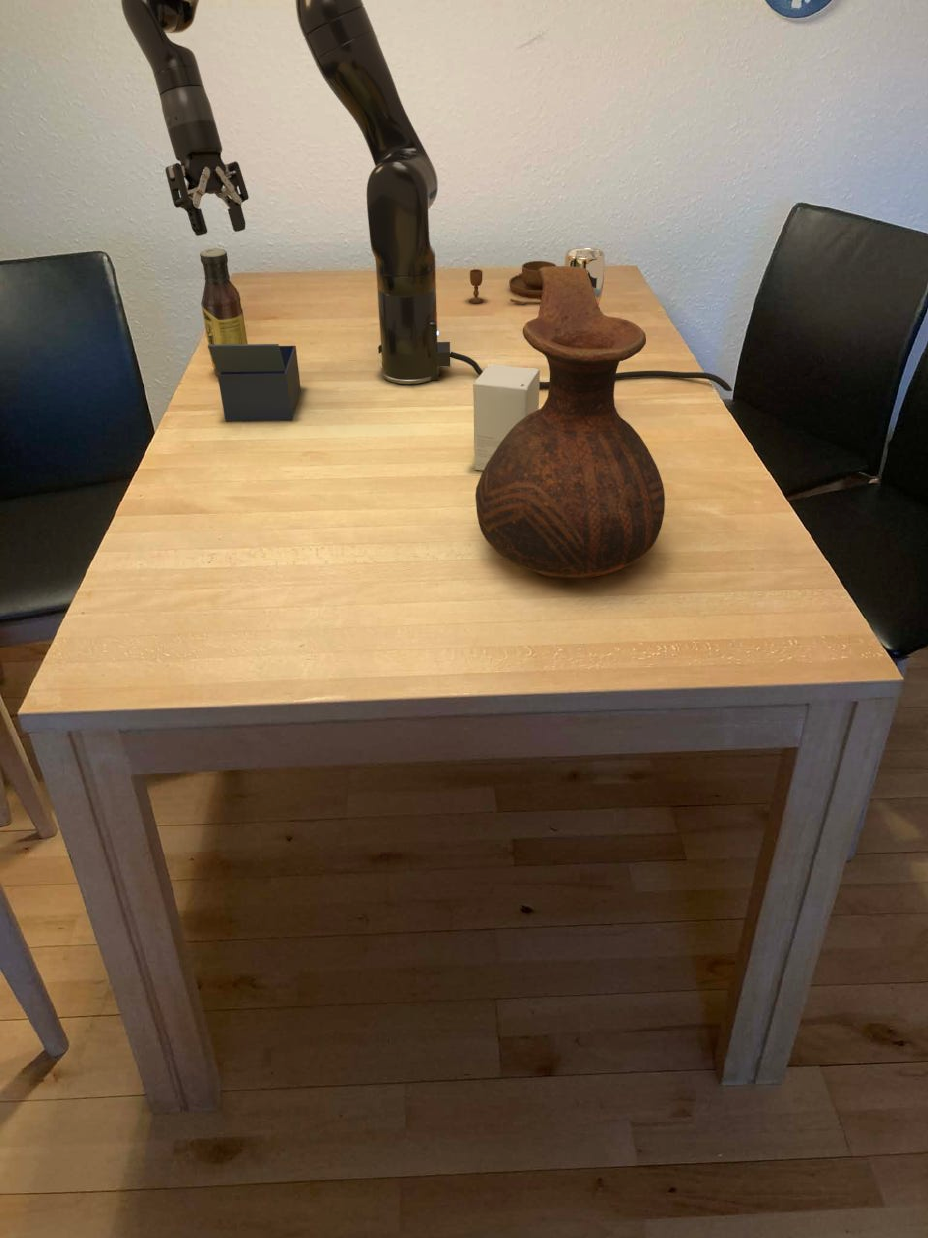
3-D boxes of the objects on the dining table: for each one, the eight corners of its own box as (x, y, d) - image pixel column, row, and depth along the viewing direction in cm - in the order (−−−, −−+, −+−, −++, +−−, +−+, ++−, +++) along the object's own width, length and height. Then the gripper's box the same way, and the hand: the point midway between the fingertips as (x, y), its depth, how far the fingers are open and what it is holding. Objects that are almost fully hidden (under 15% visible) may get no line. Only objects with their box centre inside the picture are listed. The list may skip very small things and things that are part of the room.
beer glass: (597, 347, 164) (604, 259, 155) (557, 344, 165) (562, 257, 156) (600, 333, 170) (607, 248, 161) (562, 331, 171) (567, 246, 162)
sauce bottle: (216, 367, 158) (195, 245, 146) (253, 365, 158) (236, 244, 146) (211, 382, 153) (189, 257, 141) (249, 381, 153) (231, 255, 141)
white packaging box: (538, 454, 131) (542, 368, 124) (524, 478, 126) (527, 389, 118) (488, 447, 133) (489, 361, 126) (472, 470, 128) (471, 382, 120)
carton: (300, 389, 150) (295, 345, 146) (291, 420, 141) (286, 374, 137) (238, 390, 150) (231, 346, 146) (225, 421, 141) (217, 375, 136)
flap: (278, 343, 131) (278, 345, 131) (285, 369, 136) (285, 371, 136) (207, 344, 131) (207, 346, 131) (217, 370, 136) (217, 372, 136)
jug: (687, 535, 114) (727, 286, 96) (611, 626, 99) (641, 352, 81) (531, 489, 123) (541, 255, 105) (441, 566, 109) (434, 309, 91)
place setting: (571, 304, 183) (572, 273, 179) (468, 304, 183) (468, 274, 179) (564, 277, 197) (566, 248, 193) (469, 277, 197) (469, 248, 193)
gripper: (171, 116, 140) (204, 231, 145) (239, 117, 150) (267, 224, 156) (140, 130, 144) (173, 241, 149) (208, 130, 155) (237, 234, 160)
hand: (221, 232), depth 153 cm, fingers open, 8 cm apart
